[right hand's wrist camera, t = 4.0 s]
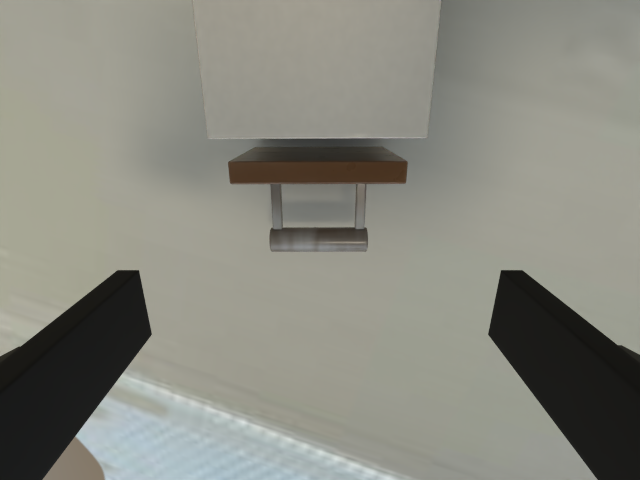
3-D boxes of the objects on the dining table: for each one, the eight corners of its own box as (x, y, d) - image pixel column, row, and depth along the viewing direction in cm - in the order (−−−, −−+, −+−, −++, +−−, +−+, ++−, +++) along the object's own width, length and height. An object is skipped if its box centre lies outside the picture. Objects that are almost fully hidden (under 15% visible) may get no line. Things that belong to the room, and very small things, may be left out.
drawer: (378, 233, 27) (398, 276, 20) (260, 233, 27) (238, 276, 20) (398, -107, 20) (440, -227, 13) (237, -106, 20) (190, -225, 13)
